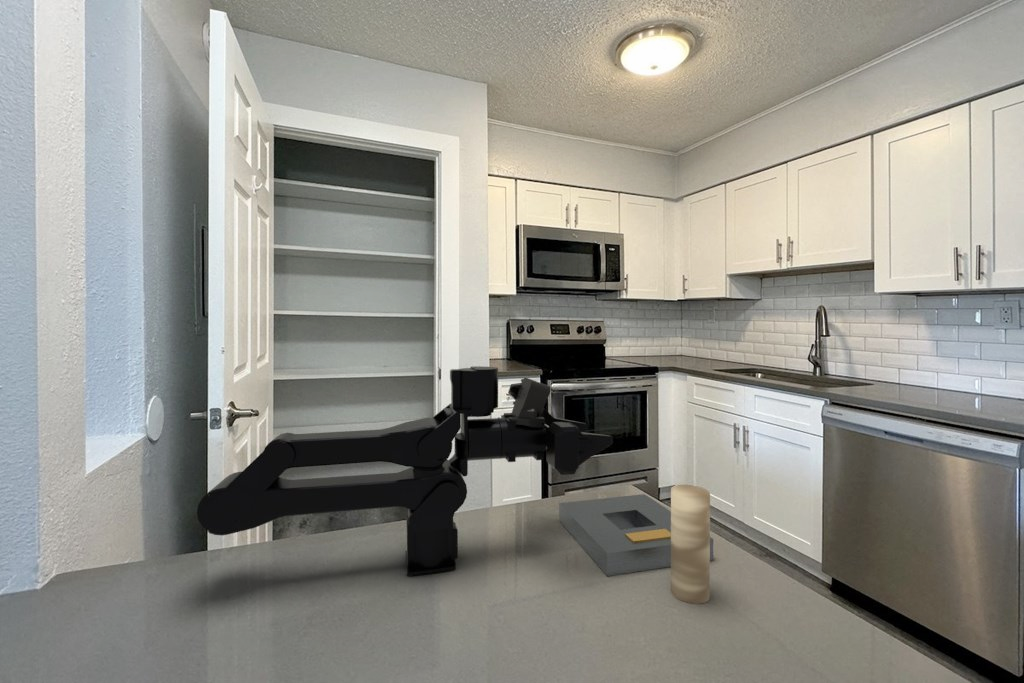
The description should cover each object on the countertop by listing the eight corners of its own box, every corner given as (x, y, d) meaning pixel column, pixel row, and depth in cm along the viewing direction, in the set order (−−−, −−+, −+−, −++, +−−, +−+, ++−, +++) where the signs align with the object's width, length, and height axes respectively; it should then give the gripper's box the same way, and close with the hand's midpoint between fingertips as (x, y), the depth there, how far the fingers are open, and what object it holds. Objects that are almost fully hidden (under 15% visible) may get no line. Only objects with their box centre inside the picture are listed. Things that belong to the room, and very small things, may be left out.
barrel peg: (685, 606, 53) (685, 499, 53) (663, 585, 57) (663, 486, 57) (717, 600, 54) (718, 495, 54) (694, 580, 58) (694, 483, 58)
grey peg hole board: (607, 576, 59) (607, 551, 59) (559, 520, 77) (559, 501, 77) (713, 560, 63) (713, 537, 63) (644, 510, 81) (644, 493, 81)
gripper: (514, 390, 56) (629, 387, 60) (485, 376, 74) (575, 374, 78) (513, 480, 57) (628, 471, 60) (485, 444, 75) (575, 439, 78)
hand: (598, 432), depth 69 cm, fingers open, 9 cm apart
